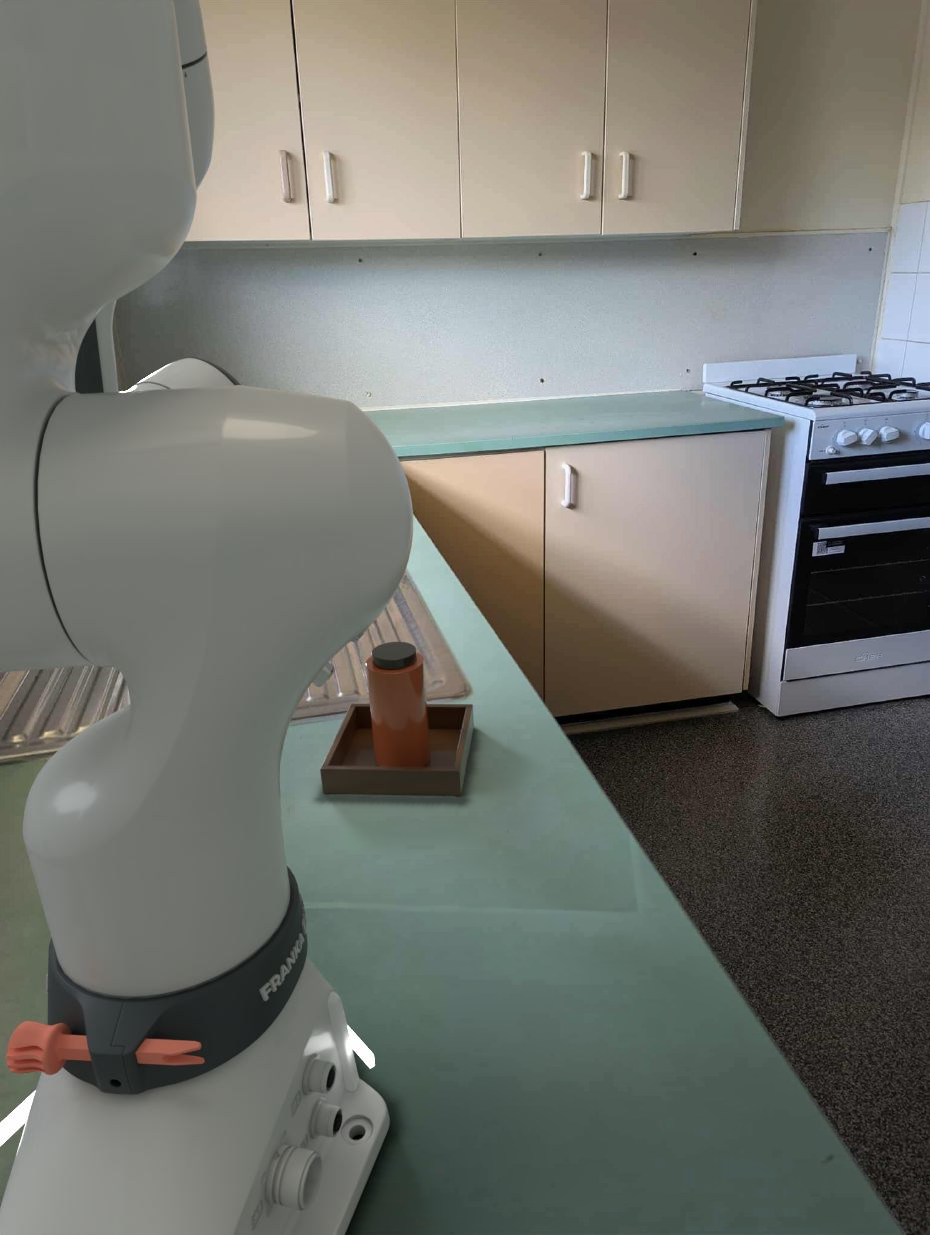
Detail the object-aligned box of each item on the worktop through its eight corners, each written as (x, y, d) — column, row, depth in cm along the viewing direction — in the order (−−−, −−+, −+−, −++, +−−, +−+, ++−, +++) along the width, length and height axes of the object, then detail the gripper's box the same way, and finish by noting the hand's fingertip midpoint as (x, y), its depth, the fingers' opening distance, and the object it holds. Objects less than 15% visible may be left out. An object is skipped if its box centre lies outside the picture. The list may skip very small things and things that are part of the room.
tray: (461, 801, 76) (459, 770, 74) (323, 799, 77) (319, 768, 76) (474, 731, 87) (472, 704, 86) (353, 730, 88) (351, 703, 87)
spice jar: (426, 773, 79) (418, 662, 75) (370, 772, 79) (358, 662, 75) (434, 744, 84) (427, 638, 80) (380, 743, 84) (371, 638, 80)
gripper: (192, 565, 66) (327, 686, 68) (293, 497, 85) (398, 594, 87) (149, 617, 69) (281, 733, 71) (257, 540, 88) (359, 634, 89)
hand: (346, 656), depth 79 cm, fingers open, 8 cm apart
